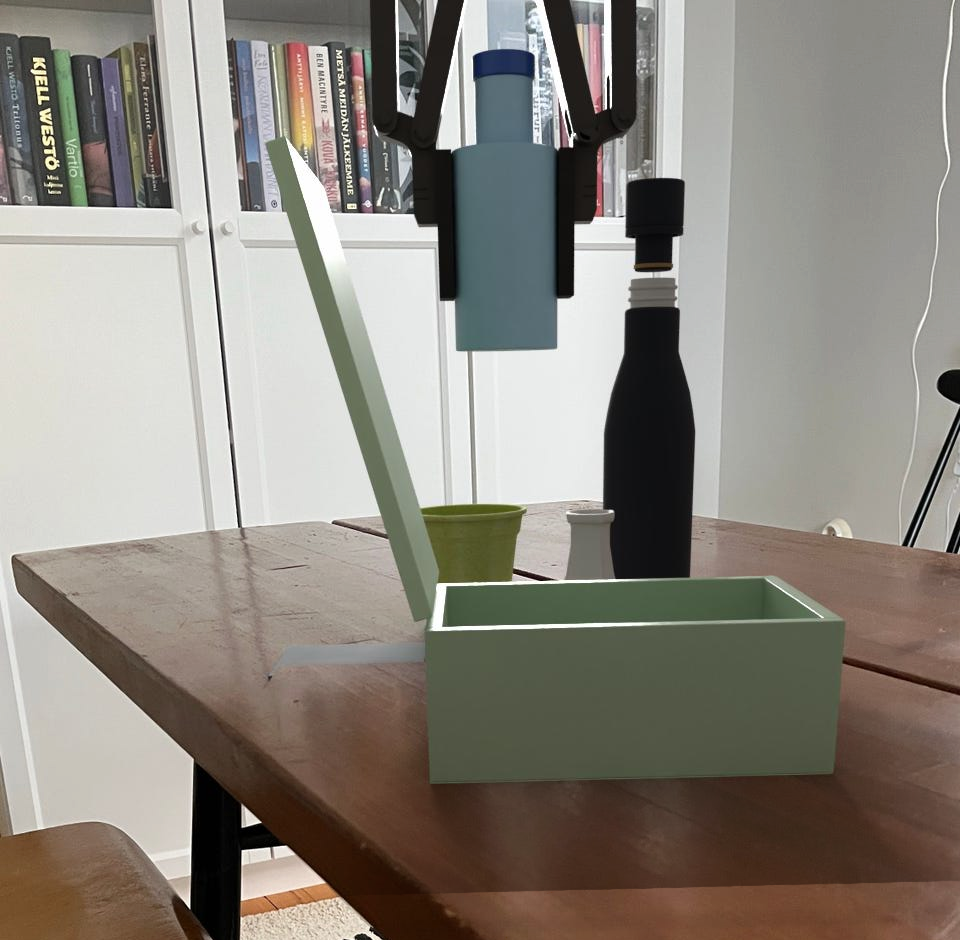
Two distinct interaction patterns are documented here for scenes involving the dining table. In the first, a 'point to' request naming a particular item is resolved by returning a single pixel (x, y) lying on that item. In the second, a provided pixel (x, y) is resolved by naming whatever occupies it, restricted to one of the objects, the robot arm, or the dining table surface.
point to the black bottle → (651, 403)
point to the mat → (351, 654)
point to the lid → (357, 374)
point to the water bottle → (505, 215)
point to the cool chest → (630, 680)
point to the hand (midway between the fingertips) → (505, 297)
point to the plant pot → (474, 541)
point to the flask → (590, 545)
